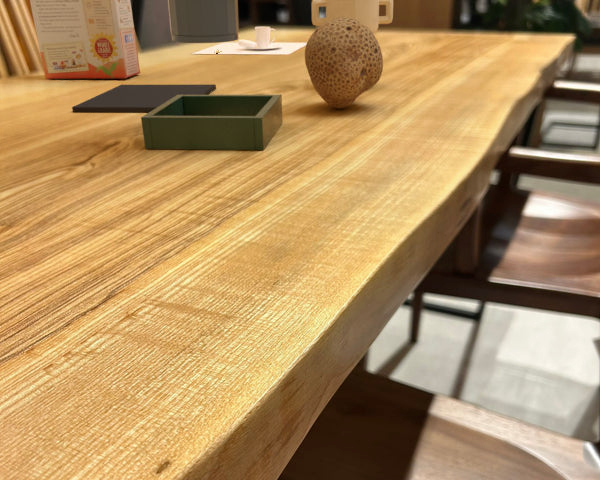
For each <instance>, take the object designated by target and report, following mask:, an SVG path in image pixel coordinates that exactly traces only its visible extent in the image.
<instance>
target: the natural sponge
mask: <svg viewBox="0 0 600 480" xmlns="http://www.w3.org/2000/svg"><path fill="white" fill-rule="evenodd" d="M306 43H307V44H306V46H305V47H304V64H305V67H306V69H307V72H308V76H309V78H310V82H311V85H312V87H313V88H314V90H315V91H316V93H317V94H318V95H319V97H320V98H321V99H322V100H323V101H324V102H325V103H326V104H327V105H329V106H331V107H332V108H334V109H338V110H342V109H346V108H347V107H349V106H351V105H352V104H353V103H354V102H355V101H356V99H357V98H359V96H361V95H362V94H364V93H365V92H367V91H369V90H370V89H372V88H373V87H374V86H375V85H376V84H377V83H378V82H379V81H380V79H381V76H382V73H383V71H384V58H383V52H382V49H381V46H380V44H379V42H378V39H377V38H376V36H375V34H373V33H372V31H371V30H369V29H368V28H367V27H366V26H364V25H363V24H362V23H360V22H359V21H357V20H355V19H352V18H348V17H338V18H336V19H334V20H332V21H330V22H326V23H324V24H322V25H320V26H317V28H316V29H315V30H314V31H313V32H312V34H311V35H310V37H309V38H308V40H307V42H306Z"/></svg>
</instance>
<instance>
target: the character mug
mask: <svg viewBox="0 0 600 480" xmlns="http://www.w3.org/2000/svg"><path fill="white" fill-rule="evenodd" d="M380 6H385V15H380ZM320 7H321V8H322V7H325V17H320ZM338 17H348V18H352V19H355V20H357V21H359V22H360V23H362V24H363V25H364V26H366V27H367V28H368V29H369V30H371V31H372V33H373V34H374V35H376V34H377V32H378V29H379V26H380V25H389V24H391V23H392V22H393V20H394V19H393V18H394V0H311V23H312V26H316V27H319V26H320V25H322V24H324V23H326V22H330V21H332V20H334V19H336V18H338Z"/></svg>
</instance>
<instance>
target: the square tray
mask: <svg viewBox="0 0 600 480" xmlns="http://www.w3.org/2000/svg"><path fill="white" fill-rule="evenodd" d="M282 97H283V96H282V94H208V95H176V96H175V97H173V98H172V99H170V100H168V101H167V102H165V103H164V104H162V105H160V106H159V107H157V108H156V109H154V110H152V111H151V112H147V113H146V114H143V116H141V117H140V118H141V120H140V121H141V128H142V135H143V141H144V148H145V150H198V151H199V150H203V151H205V150H207V151H208V150H209V151H211V150H212V151H265V149H266V147H267V146H268V144H269V143H270V142H271V140H272V139H273V137H274V136H275V134H276V133H277V131H278V130H279V128H280V127H281V126H282V124H283V98H282Z"/></svg>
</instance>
